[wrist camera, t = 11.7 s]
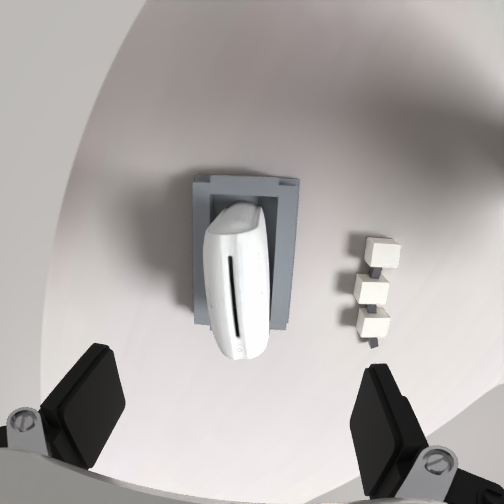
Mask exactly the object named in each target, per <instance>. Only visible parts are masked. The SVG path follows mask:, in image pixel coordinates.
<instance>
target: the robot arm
mask: <svg viewBox="0 0 504 504" xmlns="http://www.w3.org/2000/svg"><path fill="white" fill-rule="evenodd" d="M40 407H41V408H40V410H39V411H36V410H35V409H33V408H29V407H22V408H19V409H17V410H15V411H13V412H12V413H11V414H10V415H9V416H8V419H7V423H6V424H7V425H6V426H2V427H0V504H265V503H247V502H235V501H224V500H216V499H208V498H201V497H194V496H188V495H182V494H176V493H171V492H166V491H161V490H157V489H152V488H148V487H143V486H139V485H135V484H132V483H128V482H124V481H121V480H117V479H114V478H110V477H107V476H104V475H101V474H98V473H94V472H91V471H88V469H89V468H92V467H93V466H94V464H95V463H96V461H97V459H98V457H99V455H100V453H101V451H102V449H103V447H104V446H105V444H106V442H107V440H108V438H109V436H110V434H111V432H112V431H113V429H114V427H115V425H116V423H117V421H118V419H119V418H120V416H121V414H122V412H123V410H124V408H125V398H124V394H123V390H122V386H121V382H120V378H119V374H118V370H117V366H116V361H115V357H114V353H113V351H112V350H111V349H110V348H109V346H108V345H104V344H98V343H94V344H92V345H91V346H90V348H89V349H88V350H87V351H86V352H85V353H84V354H83V356H82V357H81V358H80V359H79V360H78V361H77V363H76V364H75V365H74V366H73V367H72V368H71V370H70V371H69V372H68V373H67V374H66V375H65V377H64V378H63V379H62V380H61V381H60V382H59V384H58V385H57V386H56V387H55V388H54V390H53V391H52V392H51V393H50V394H49V396H48V397H47V398H46V399H45V401H44V402H43V403H42V404H41V405H40ZM350 430H351V434H352V438H353V443H354V447H355V452H356V456H357V461H358V465H359V470H360V475H361V479H362V484H363V489H364V494H365V496H369V497H370V500H361V501H352V502H337V503H317V504H504V489H503V488H502V487H501V486H500V485H498V484H496V483H494V482H491V481H489V480H486V479H484V478H481V477H478V476H476V475H473V474H471V473H468V472H466V471H464V470H461V469H459V468H457V467H458V459H457V457H456V455H455V453H453V452H452V451H451V450H450V449H448V448H446V447H443V446H430V447H429V445H428V443H427V440H426V438H425V436H424V433H423V431H422V429H421V427H420V425H419V422H418V420H417V418H416V416H415V414H414V411H413V409H412V407H411V405H410V403H409V401H408V399H407V398H406V397H405V396H402V395H401V393H400V390H399V388H398V386H397V384H396V382H395V380H394V378H393V376H392V374H391V371H390V369H389V367H388V365H387V364H371V365H370V367H369V368H366V369H365V371H364V374H363V378H362V381H361V385H360V388H359V392H358V395H357V399H356V402H355V405H354V408H353V412H352V415H351V418H350Z"/></svg>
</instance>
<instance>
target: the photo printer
mask: <svg viewBox="0 0 504 504" xmlns="http://www.w3.org/2000/svg"><path fill="white" fill-rule="evenodd" d="M203 267H204V279H205V289H206V297H207V305H208V311H209V317H210V322H211V327H212V331H213V334H214V336H215V339H216V342H217V344H218V346H219V348H220V350H221V352H222V353H223V354H224V355H225V356H226V357H228V358H230V359H232V360H235V359H241V358H243V359H252V358H254V357H256V356H258V355H259V354H261V353H262V352H263V351H264V350H265V348H266V345H267V342H268V336H269V299H270V284H269V259H268V245H267V234H266V225H265V218H264V213H263V210H262V207H261V206H256V205H255V204H253V203H251V202H247V201H240V202H236V203H234V204H233V205H231V206H230V207H229V208H224V209H223V210H222V211H221V213H220V214H219V215H218V216H217V218H216V219H215V220H214V221H213V222H212V223H211V225H210V226H209V227H208V228H207V230H206V232H205V237H204V244H203Z"/></svg>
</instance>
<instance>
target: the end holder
mask: <svg viewBox="0 0 504 504" xmlns="http://www.w3.org/2000/svg"><path fill="white" fill-rule="evenodd" d="M299 181H300V180H299V179H287V178H279V177H262V176H238V175H195V176H194V182H193V186H192V259H193V300H194V324H201V325H210V330H212V327H211V322H210V317H209V311H208V305H207V297H206V289H205V279H204V267H203V244H204V237H205V232H206V230H207V228H208V227H209V226H210V225H211V223H212V222H213V221H214V220H215V219H216V218H217V216H218V215H219V214H220V213H221V211H222V210H223V209H224V208H229V207H230V206H231V205H233V204H234V203H236V202H240V201H247V202H251V203H253V204H255V205H256V206H261V207H262V210H263V213H264V218H265V225H266V234H267V245H268V259H269V284H270V299H269V332H270V329H274V330H286V323H288V319H289V309H290V299H291V288H292V277H293V265H294V253H295V240H296V227H297V213H298V197H299Z"/></svg>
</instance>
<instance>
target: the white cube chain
mask: <svg viewBox="0 0 504 504" xmlns="http://www.w3.org/2000/svg"><path fill="white" fill-rule="evenodd" d="M400 250H401V244H399V243H398V242H397V241H395V240H394V239H387V238H373V237H367V240H366V248H365V255H364V260H365V261H366V262H367V263H368V265H369V266H370V267H371V269H370V272H369V274H356V280H355V287H354V293H353V295H354V297H355V298H356V300H357V302H358V304H366V307H367V308H359V313H358V318H357V323H356V328H357V330H358V333H359V335H360V337H368V341H369V345H370V347H371V349H372V348H375V347H378V340H377V337H386V335H387V331H388V327H389V323H390V319H391V318H390V316H389V315H388V313H387V312H386V310H385V309H384V308H376V304H385V303H386V299H387V294H388V289H389V282H388V280H387V279H386V278H385V277H384V276H383V275H380V274H381V270H382V267H385V268H398V263H399V257H400Z"/></svg>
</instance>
